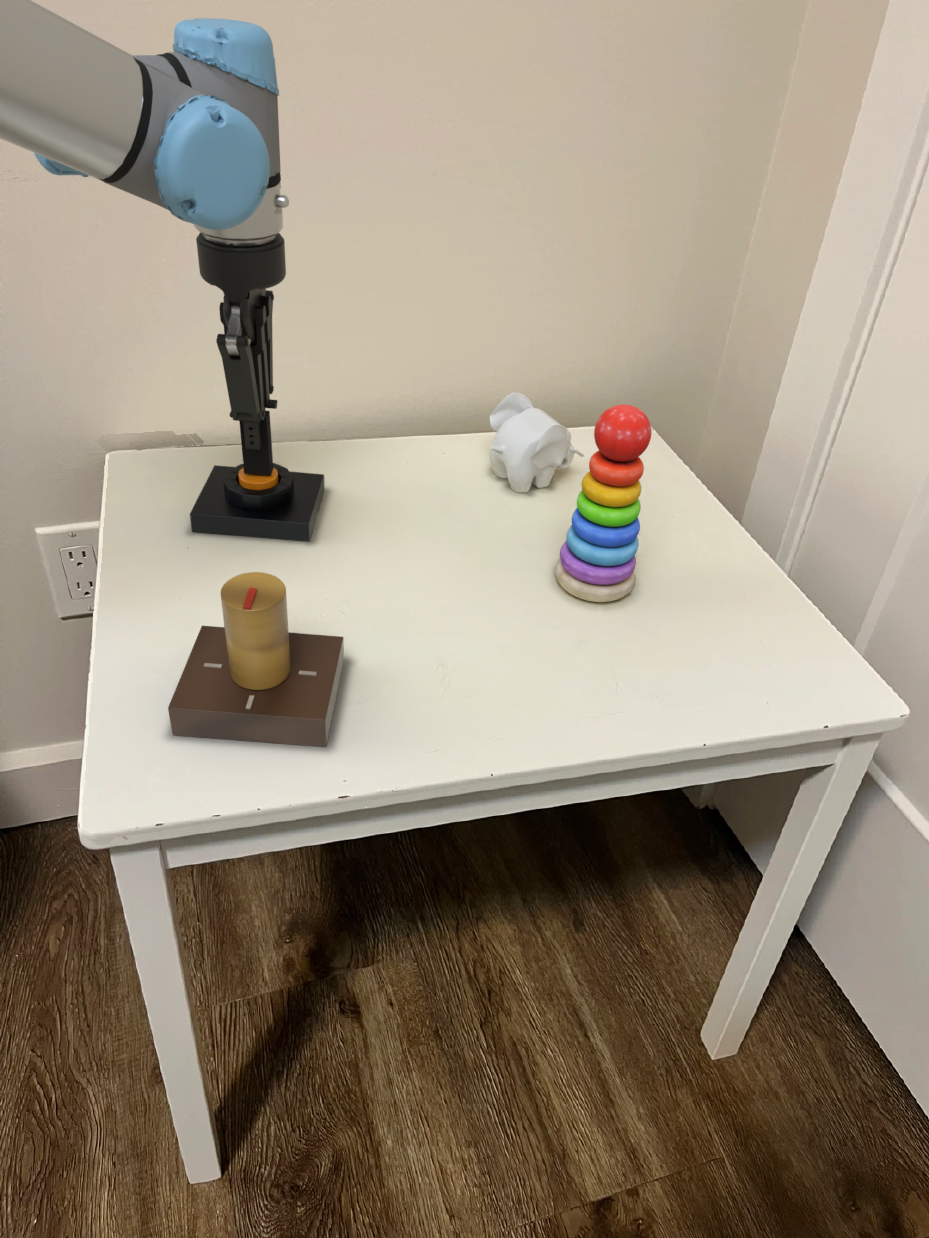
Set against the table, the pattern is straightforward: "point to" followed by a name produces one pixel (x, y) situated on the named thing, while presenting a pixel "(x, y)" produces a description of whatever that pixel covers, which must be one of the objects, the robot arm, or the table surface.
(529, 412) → the elephant figurine
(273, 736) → the plate
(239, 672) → the lock knob
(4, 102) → the robot arm
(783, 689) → the table surface
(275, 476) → the bell button
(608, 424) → the stacking toy
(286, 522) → the block
